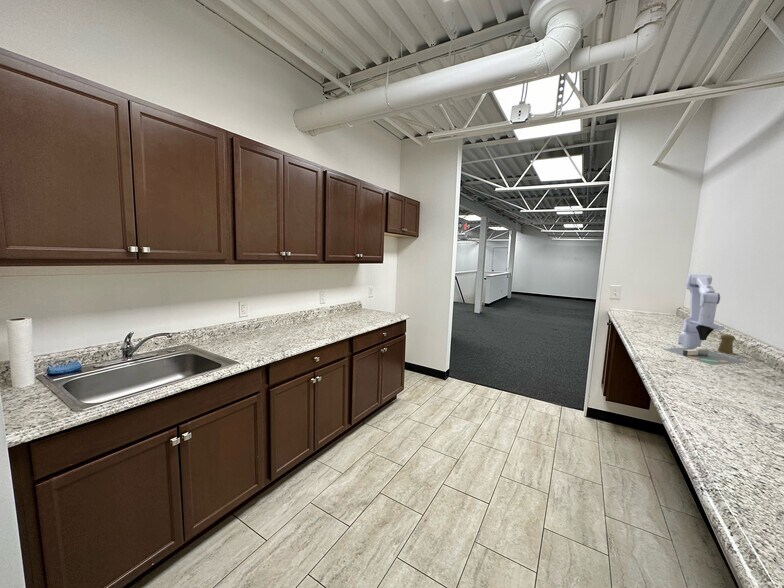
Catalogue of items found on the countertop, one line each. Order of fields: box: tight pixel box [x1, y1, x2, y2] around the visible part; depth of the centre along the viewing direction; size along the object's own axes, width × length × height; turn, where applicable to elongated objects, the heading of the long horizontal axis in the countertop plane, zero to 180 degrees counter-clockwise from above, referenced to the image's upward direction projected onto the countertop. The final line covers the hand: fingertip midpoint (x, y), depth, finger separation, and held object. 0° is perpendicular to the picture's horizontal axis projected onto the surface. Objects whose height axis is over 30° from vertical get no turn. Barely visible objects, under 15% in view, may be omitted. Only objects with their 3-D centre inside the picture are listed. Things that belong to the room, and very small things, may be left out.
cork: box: [717, 333, 736, 354], centre depth 170 cm, size 6×6×11 cm
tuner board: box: [662, 347, 749, 366], centre depth 164 cm, size 24×23×1 cm
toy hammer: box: [683, 346, 709, 356], centre depth 164 cm, size 14×6×4 cm, turn 100°
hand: (702, 340), depth 164 cm, fingers closed
